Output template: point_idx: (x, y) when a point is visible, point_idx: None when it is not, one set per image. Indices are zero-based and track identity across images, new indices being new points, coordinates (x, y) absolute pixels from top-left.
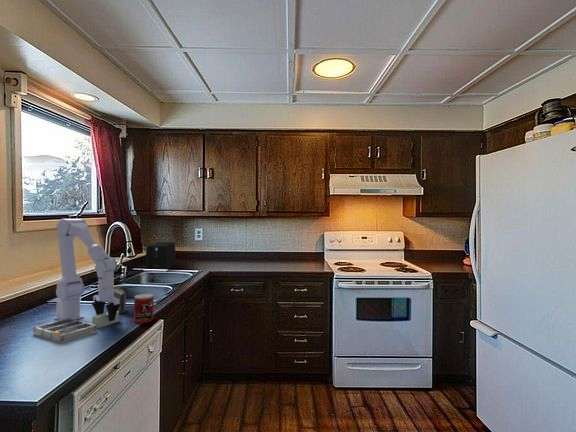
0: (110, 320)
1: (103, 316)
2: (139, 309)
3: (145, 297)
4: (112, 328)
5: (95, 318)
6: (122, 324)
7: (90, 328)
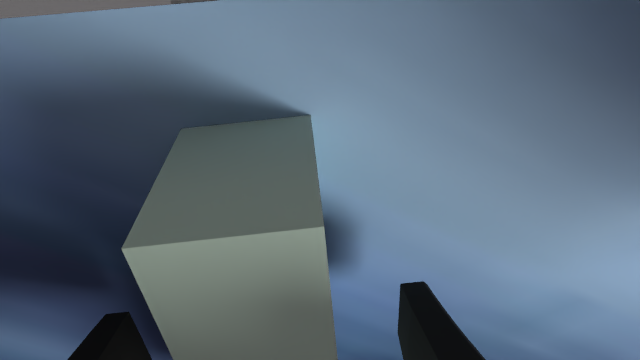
0: (94, 328)
1: (175, 340)
2: None
3: None
4: (3, 236)
5: (204, 217)
6: None
7: None
